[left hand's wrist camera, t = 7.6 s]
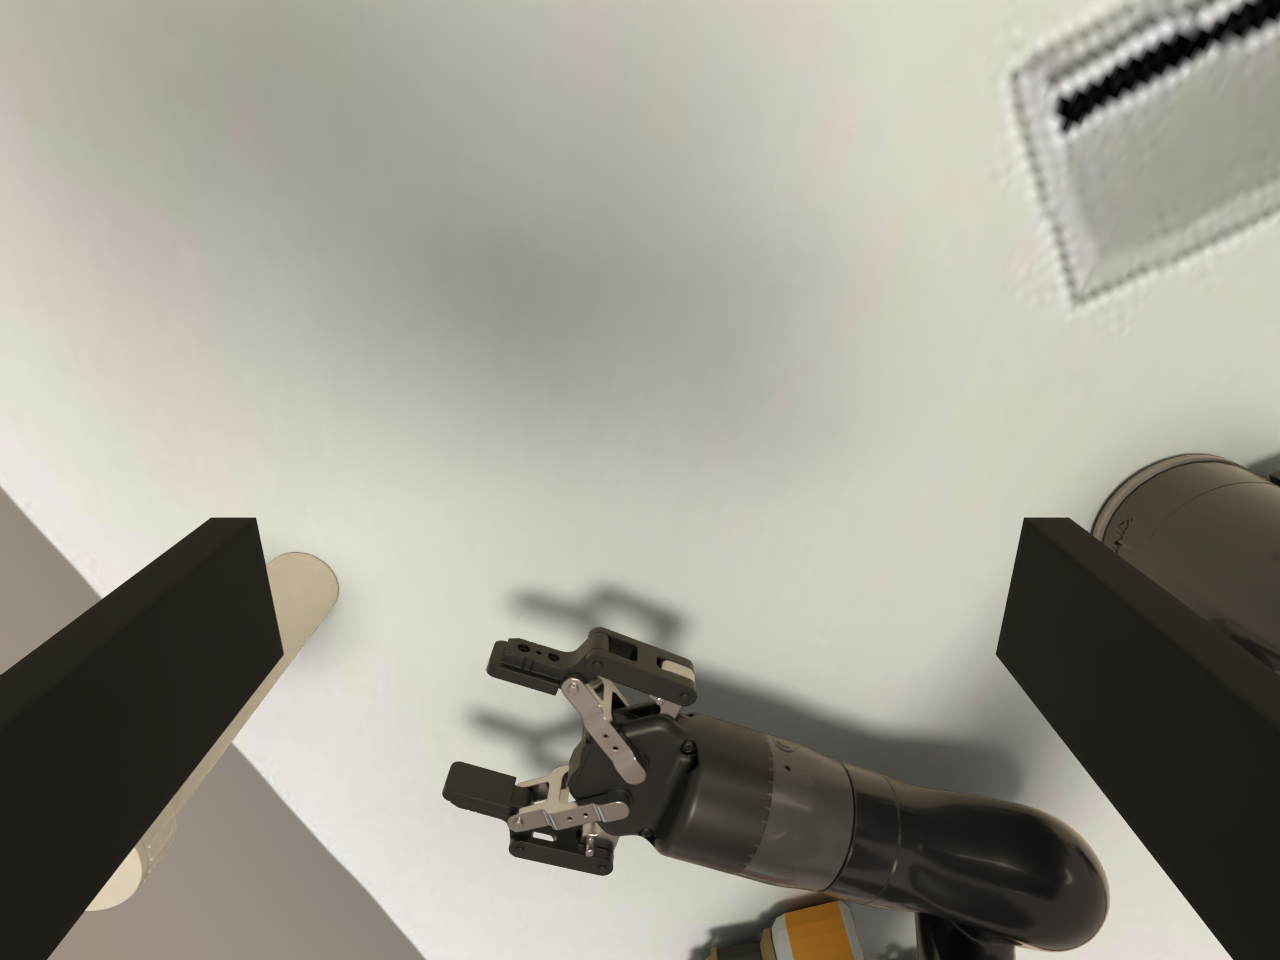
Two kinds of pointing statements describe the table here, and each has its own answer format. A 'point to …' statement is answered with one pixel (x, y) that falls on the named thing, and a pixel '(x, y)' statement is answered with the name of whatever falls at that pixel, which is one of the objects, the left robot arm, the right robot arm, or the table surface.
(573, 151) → the table surface
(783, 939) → the spray gun
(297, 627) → the cream cylindrical bottle
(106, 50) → the table surface
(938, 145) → the table surface
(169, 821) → the lid
